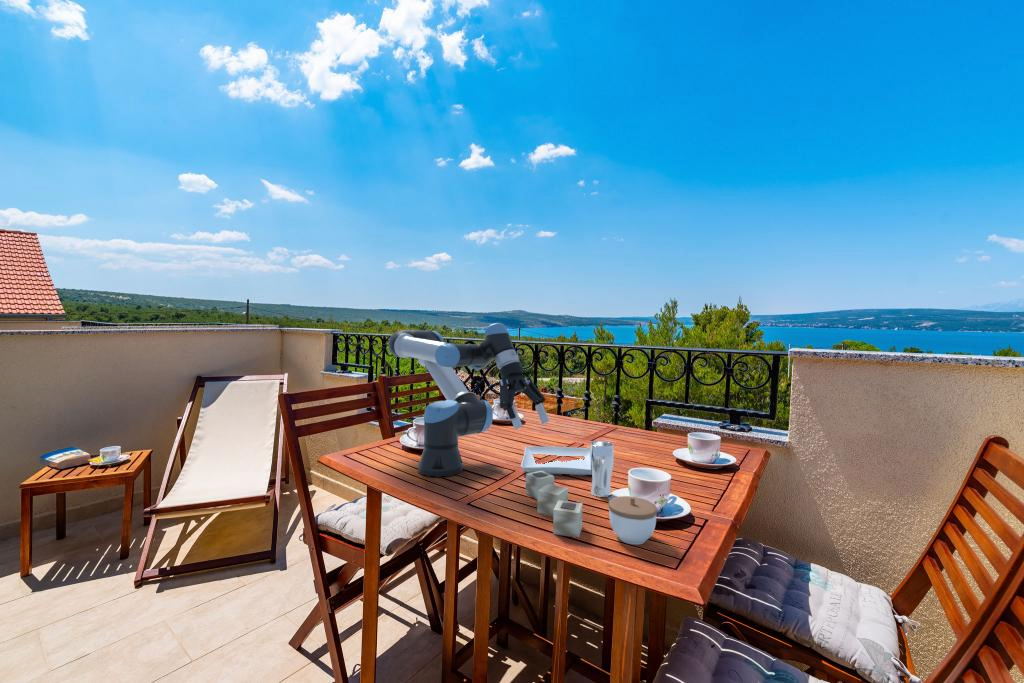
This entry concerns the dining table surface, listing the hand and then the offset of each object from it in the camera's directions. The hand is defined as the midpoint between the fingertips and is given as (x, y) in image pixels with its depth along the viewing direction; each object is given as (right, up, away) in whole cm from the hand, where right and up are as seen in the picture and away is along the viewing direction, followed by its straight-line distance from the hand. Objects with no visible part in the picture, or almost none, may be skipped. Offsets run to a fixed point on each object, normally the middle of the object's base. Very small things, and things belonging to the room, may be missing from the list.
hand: (532, 425), depth 128 cm
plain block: (+4, -19, -20) cm, 28 cm away
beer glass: (+20, -19, -8) cm, 28 cm away
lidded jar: (+21, -19, -34) cm, 45 cm away
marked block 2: (+7, -19, -31) cm, 37 cm away
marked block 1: (+2, -19, -8) cm, 21 cm away
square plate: (+11, -19, +20) cm, 29 cm away
